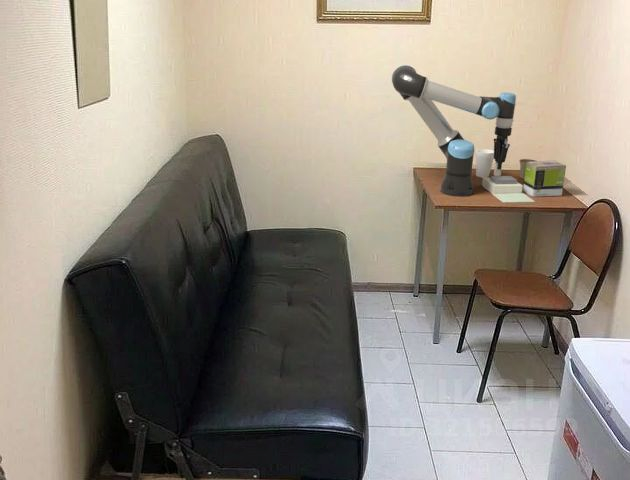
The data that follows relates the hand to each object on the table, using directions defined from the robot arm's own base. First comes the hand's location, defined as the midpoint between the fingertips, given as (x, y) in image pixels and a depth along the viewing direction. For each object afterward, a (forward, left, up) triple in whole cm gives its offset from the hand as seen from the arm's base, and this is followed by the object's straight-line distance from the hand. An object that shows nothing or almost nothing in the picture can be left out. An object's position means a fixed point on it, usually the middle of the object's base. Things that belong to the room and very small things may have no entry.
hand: (497, 175), depth 307 cm
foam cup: (0, +17, -6) cm, 18 cm away
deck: (0, -7, -5) cm, 8 cm away
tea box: (+17, -14, -6) cm, 23 cm away
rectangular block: (0, -8, -1) cm, 8 cm away
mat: (0, -20, -5) cm, 21 cm away
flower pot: (+22, +13, -6) cm, 26 cm away
